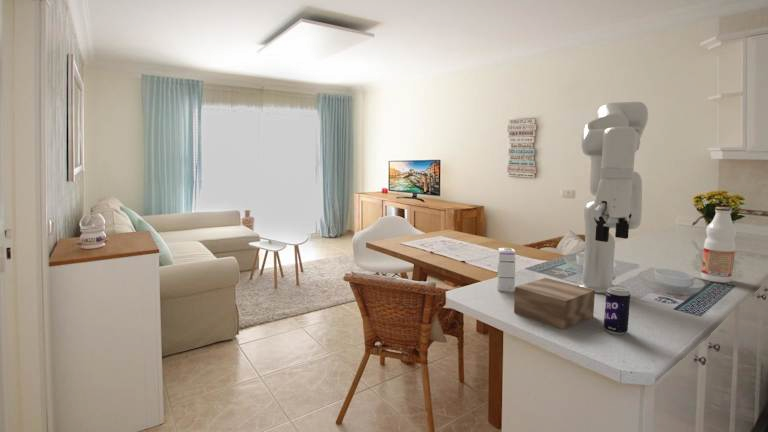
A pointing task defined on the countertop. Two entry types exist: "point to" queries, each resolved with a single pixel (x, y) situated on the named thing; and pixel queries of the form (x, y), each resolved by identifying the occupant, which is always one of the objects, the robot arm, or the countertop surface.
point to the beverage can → (617, 309)
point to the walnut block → (554, 302)
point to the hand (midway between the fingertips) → (611, 239)
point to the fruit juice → (719, 247)
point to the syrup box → (506, 269)
